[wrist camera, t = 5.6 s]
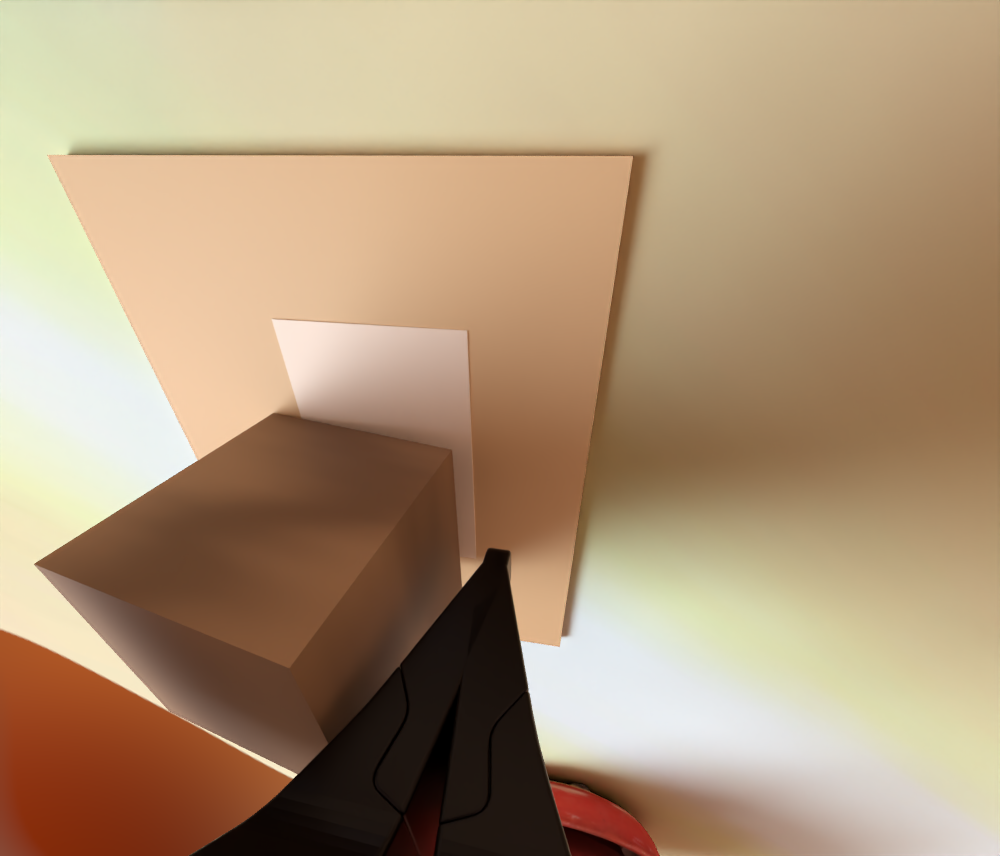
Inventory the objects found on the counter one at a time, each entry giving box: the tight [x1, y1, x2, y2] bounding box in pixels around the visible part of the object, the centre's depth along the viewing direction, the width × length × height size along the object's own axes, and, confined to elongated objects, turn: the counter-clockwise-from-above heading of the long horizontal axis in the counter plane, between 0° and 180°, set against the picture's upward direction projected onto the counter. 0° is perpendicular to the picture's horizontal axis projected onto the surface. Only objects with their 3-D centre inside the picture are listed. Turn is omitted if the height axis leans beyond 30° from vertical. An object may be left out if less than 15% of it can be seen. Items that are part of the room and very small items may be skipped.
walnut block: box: [34, 413, 462, 774], centre depth 9 cm, size 5×5×5 cm
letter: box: [48, 155, 633, 647], centre depth 11 cm, size 11×14×1 cm
